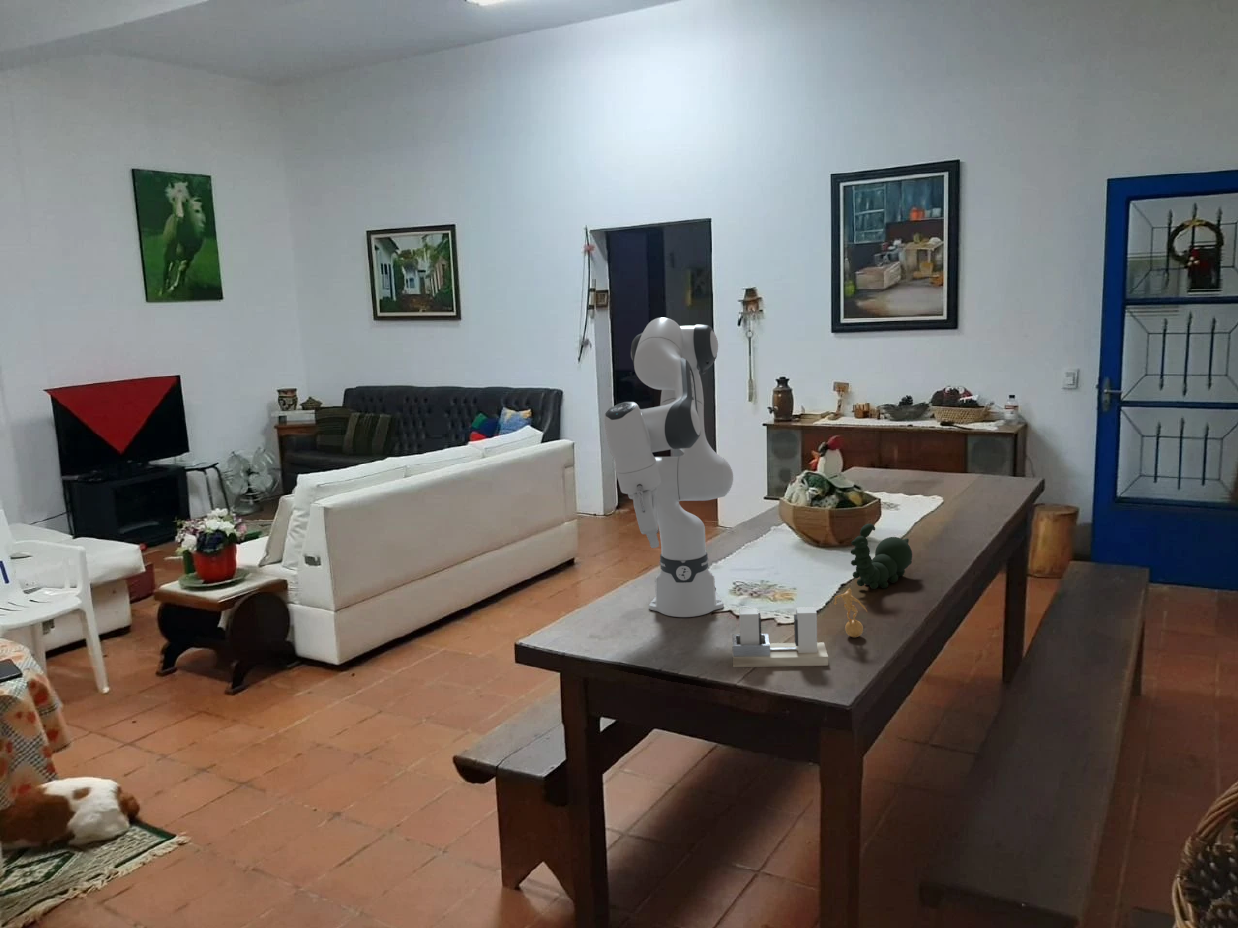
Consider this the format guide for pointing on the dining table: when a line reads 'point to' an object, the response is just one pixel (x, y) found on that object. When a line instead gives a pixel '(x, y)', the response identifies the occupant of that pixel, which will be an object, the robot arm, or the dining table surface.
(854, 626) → the figurine
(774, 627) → the dining table surface
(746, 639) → the block
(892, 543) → the toy figurine
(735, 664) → the rail
